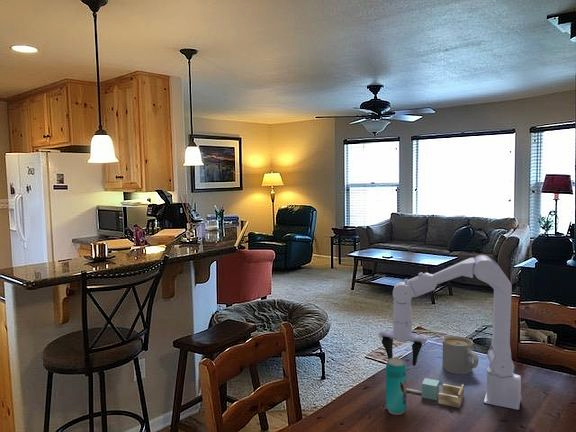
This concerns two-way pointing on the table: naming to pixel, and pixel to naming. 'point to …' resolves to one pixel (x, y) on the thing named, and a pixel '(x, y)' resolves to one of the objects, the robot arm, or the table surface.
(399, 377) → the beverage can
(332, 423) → the table surface
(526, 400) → the table surface
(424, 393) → the tethered block
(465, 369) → the coffee mug
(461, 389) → the wooden bracket
